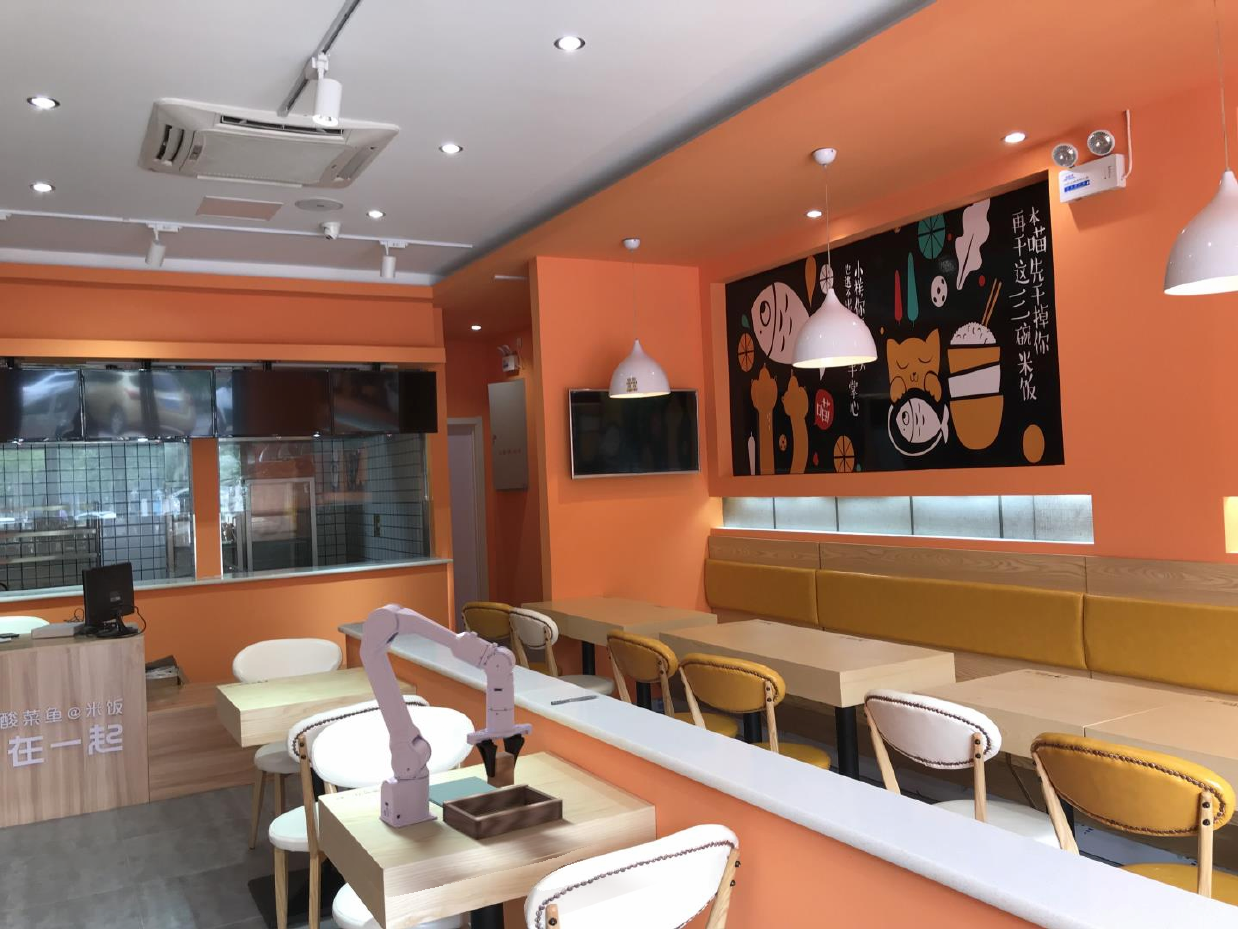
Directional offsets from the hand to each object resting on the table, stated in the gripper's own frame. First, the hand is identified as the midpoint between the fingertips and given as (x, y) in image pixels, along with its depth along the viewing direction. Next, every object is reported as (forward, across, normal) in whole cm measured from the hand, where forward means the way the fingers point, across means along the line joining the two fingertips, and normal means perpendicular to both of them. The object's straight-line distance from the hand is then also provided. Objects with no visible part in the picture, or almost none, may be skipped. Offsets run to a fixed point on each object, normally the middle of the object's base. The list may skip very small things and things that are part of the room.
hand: (500, 774), depth 199 cm
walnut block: (+2, 0, 0) cm, 2 cm away
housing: (+9, 0, -1) cm, 9 cm away
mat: (+9, +2, +20) cm, 22 cm away
